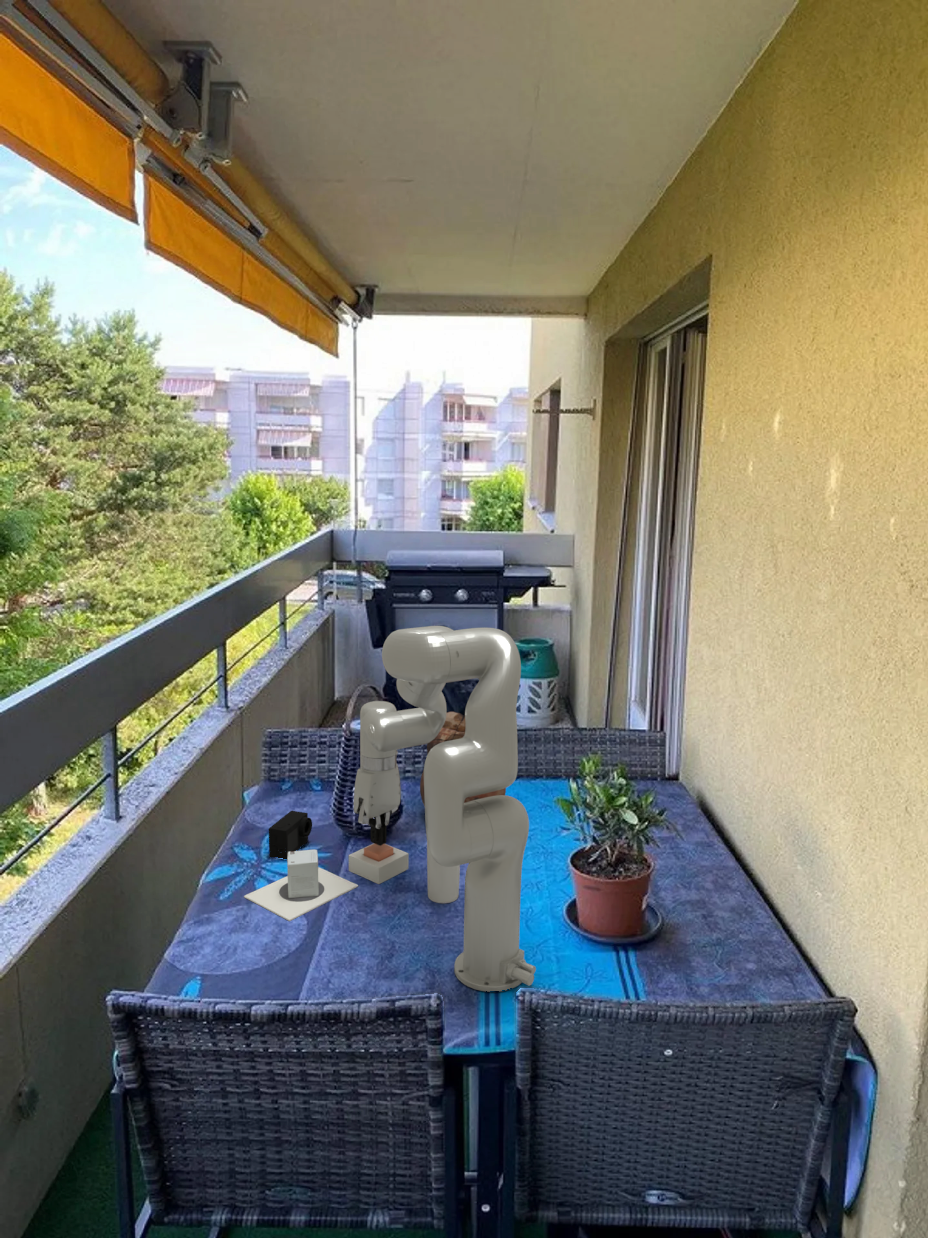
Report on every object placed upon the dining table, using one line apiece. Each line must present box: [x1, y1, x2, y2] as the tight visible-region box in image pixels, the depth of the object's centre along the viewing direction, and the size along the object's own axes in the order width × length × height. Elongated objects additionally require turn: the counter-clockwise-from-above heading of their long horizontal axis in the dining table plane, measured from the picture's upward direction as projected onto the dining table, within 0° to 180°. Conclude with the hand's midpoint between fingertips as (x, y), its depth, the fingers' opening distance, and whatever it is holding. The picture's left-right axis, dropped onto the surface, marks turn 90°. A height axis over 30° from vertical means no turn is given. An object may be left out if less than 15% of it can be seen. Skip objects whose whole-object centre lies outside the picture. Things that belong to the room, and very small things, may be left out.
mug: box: [426, 842, 461, 904], centre depth 178 cm, size 10×7×12 cm, turn 167°
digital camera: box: [268, 810, 313, 859], centre depth 197 cm, size 10×5×7 cm, turn 163°
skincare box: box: [286, 849, 319, 898], centre depth 178 cm, size 6×6×7 cm
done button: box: [363, 843, 394, 862], centre depth 188 cm, size 4×4×2 cm
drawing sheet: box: [243, 866, 359, 922], centre depth 179 cm, size 14×18×1 cm
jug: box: [419, 711, 507, 807], centre depth 214 cm, size 22×21×25 cm
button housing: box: [348, 843, 410, 885], centre depth 188 cm, size 9×9×4 cm
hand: (378, 842), depth 187 cm, fingers closed
